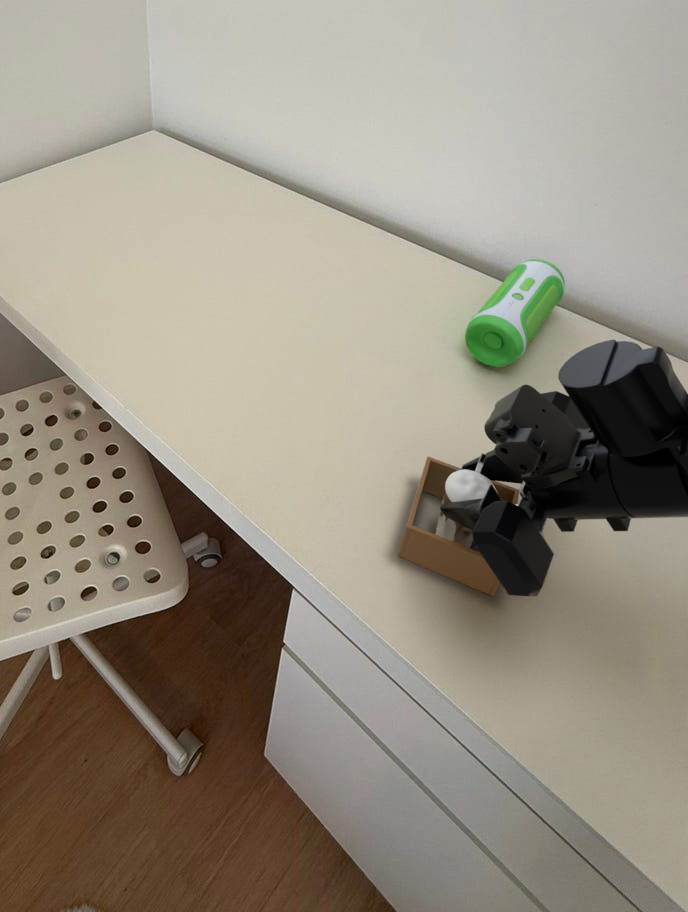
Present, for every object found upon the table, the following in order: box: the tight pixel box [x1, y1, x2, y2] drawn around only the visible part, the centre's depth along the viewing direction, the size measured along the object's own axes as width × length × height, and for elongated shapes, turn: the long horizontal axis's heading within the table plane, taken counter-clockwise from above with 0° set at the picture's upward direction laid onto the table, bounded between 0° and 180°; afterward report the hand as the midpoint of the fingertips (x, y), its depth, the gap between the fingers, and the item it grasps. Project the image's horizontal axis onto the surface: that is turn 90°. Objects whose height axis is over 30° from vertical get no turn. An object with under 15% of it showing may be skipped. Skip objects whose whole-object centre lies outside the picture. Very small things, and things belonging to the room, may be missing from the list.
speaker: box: [464, 258, 566, 368], centre depth 87 cm, size 18×7×8 cm, turn 139°
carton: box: [397, 456, 520, 597], centre depth 64 cm, size 9×9×5 cm
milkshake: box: [434, 452, 498, 549], centre depth 63 cm, size 4×5×10 cm
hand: (453, 490), depth 63 cm, fingers closed on milkshake, 5 cm apart
